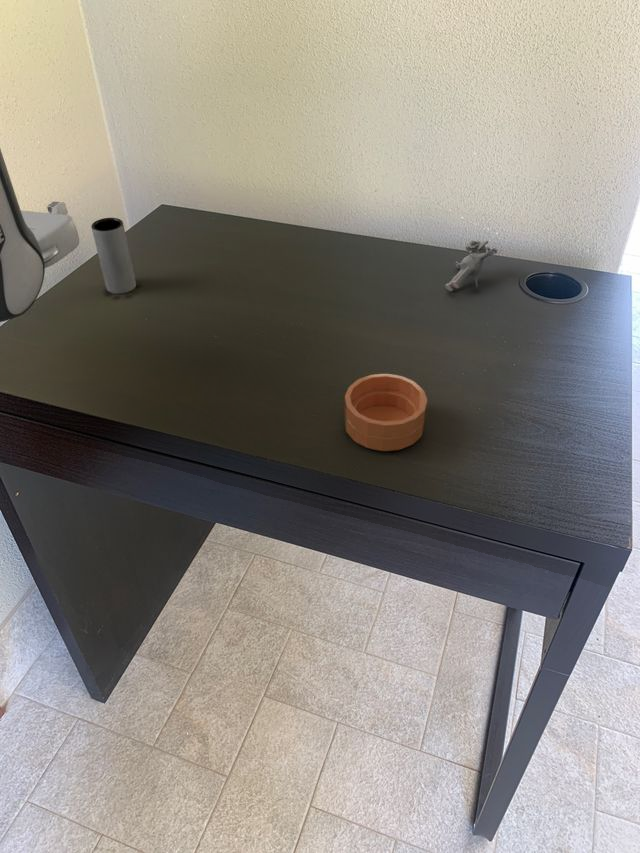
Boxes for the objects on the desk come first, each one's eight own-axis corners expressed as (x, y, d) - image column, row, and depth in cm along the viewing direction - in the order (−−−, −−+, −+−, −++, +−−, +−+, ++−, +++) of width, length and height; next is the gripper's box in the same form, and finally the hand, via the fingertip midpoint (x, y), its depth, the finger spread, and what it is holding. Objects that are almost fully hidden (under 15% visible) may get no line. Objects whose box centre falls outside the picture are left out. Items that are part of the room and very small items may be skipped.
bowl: (394, 466, 75) (396, 436, 72) (329, 432, 80) (328, 402, 77) (438, 423, 81) (442, 393, 78) (374, 393, 85) (376, 364, 82)
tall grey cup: (100, 291, 105) (84, 228, 98) (117, 277, 108) (103, 215, 101) (125, 296, 104) (110, 232, 97) (142, 282, 107) (129, 220, 100)
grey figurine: (421, 281, 106) (453, 243, 109) (445, 309, 108) (477, 270, 111) (458, 264, 97) (492, 223, 100) (484, 295, 99) (517, 254, 101)
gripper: (31, 241, 73) (95, 186, 82) (-127, 223, 77) (-49, 173, 87) (49, 292, 77) (108, 234, 87) (-102, 273, 81) (-30, 220, 91)
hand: (28, 204), depth 87 cm, fingers open, 8 cm apart
